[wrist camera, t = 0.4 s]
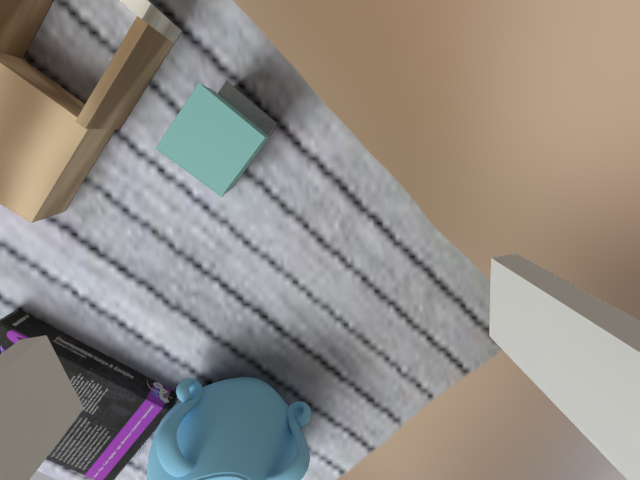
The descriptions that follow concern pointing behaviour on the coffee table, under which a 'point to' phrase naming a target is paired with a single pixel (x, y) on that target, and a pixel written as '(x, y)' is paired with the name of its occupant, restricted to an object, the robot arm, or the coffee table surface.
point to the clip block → (212, 140)
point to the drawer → (65, 107)
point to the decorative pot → (230, 434)
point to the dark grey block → (247, 108)
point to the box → (97, 401)
